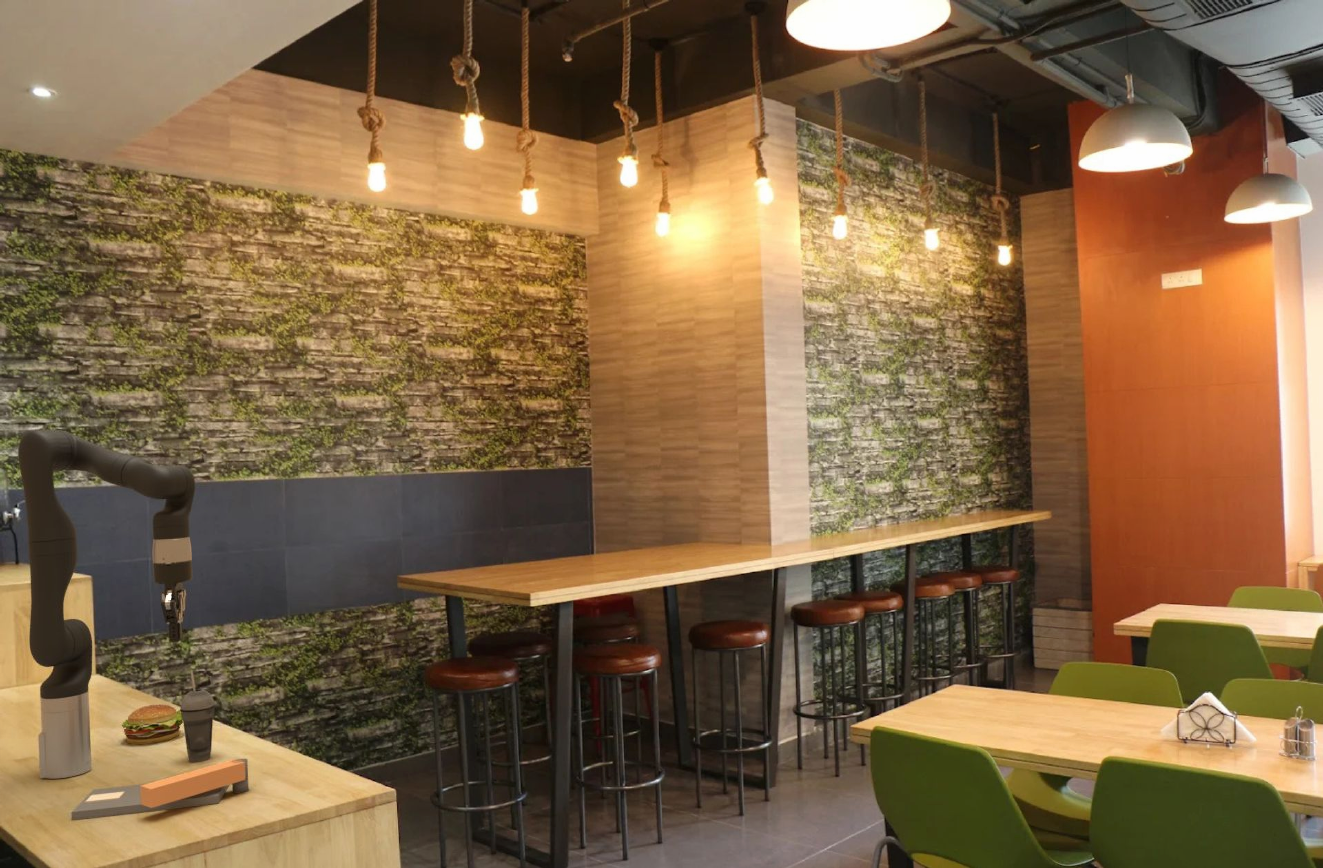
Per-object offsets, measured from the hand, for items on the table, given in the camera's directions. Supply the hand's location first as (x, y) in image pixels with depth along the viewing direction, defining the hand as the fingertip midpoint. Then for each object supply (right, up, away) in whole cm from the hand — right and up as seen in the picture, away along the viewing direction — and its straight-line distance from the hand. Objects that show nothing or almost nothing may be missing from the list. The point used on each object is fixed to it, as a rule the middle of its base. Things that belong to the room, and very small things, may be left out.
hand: (175, 641), depth 223 cm
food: (-21, -31, +33) cm, 50 cm away
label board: (+5, -29, -14) cm, 32 cm away
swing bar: (+13, -26, -18) cm, 34 cm away
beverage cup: (-1, -29, +14) cm, 32 cm away
